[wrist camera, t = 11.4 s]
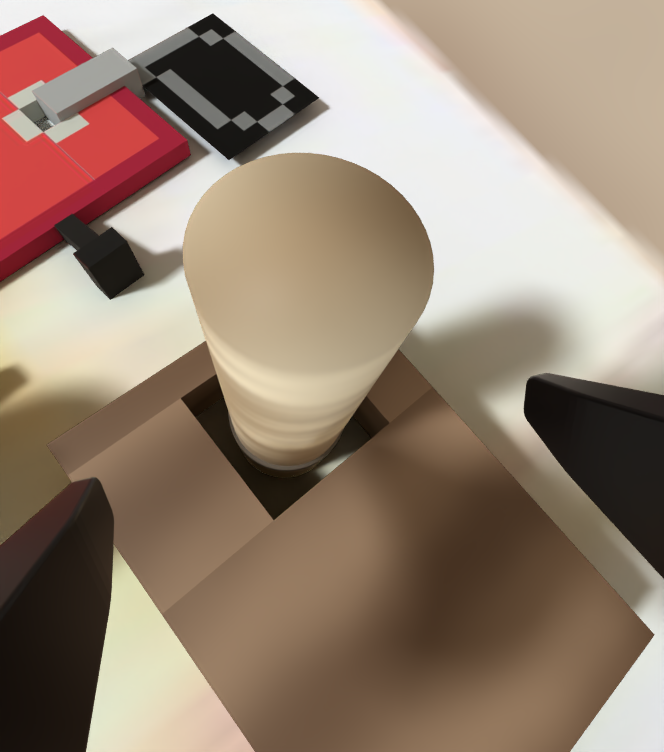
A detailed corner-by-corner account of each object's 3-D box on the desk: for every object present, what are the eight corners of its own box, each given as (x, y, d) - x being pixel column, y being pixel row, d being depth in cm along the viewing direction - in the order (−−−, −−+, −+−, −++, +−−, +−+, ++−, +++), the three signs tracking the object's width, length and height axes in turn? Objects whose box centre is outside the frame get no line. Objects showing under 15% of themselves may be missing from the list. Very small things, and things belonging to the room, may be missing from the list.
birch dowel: (354, 437, 20) (490, 278, 8) (276, 501, 18) (290, 433, 6) (293, 365, 20) (328, 113, 8) (214, 422, 19) (120, 222, 7)
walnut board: (596, 620, 19) (654, 634, 16) (381, 892, 15) (407, 975, 12) (315, 299, 22) (322, 264, 19) (81, 458, 18) (46, 444, 15)
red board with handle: (342, 132, 25) (162, -12, 28) (349, 85, 23) (149, -70, 25) (-228, 556, 16) (-426, 285, 19) (-327, 559, 14) (-544, 243, 16)
